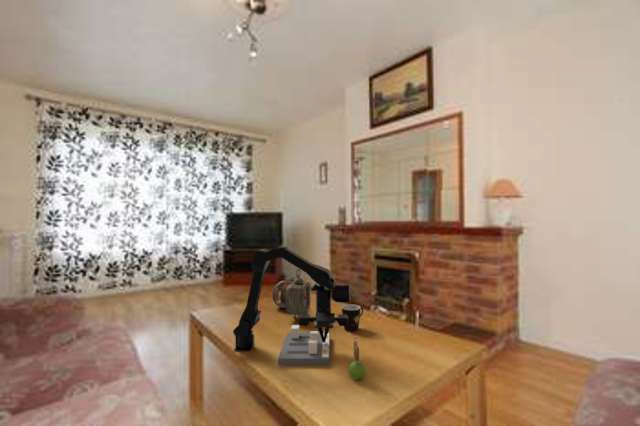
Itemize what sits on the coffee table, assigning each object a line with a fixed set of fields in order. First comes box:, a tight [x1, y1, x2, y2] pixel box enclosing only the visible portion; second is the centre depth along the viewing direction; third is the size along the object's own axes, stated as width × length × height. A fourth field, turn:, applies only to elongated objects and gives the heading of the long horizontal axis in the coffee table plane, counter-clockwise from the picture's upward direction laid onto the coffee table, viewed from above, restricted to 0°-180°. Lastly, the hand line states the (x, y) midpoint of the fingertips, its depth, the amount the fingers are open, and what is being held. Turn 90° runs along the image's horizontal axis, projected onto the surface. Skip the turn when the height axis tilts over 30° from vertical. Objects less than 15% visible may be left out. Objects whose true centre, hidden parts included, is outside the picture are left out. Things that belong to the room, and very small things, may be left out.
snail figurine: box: [348, 336, 367, 380], centre depth 105 cm, size 5×6×12 cm
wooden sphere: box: [271, 280, 294, 309], centre depth 183 cm, size 15×15×15 cm
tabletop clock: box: [285, 268, 311, 320], centre depth 163 cm, size 14×9×25 cm, turn 168°
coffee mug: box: [341, 304, 364, 333], centre depth 148 cm, size 12×9×10 cm
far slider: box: [290, 324, 301, 338], centre depth 133 cm, size 3×4×4 cm
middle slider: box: [309, 330, 319, 346], centre depth 126 cm, size 3×4×4 cm
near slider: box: [308, 338, 317, 354], centre depth 119 cm, size 3×4×4 cm
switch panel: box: [277, 332, 331, 367], centre depth 126 cm, size 18×24×3 cm
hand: (323, 342), depth 126 cm, fingers closed
